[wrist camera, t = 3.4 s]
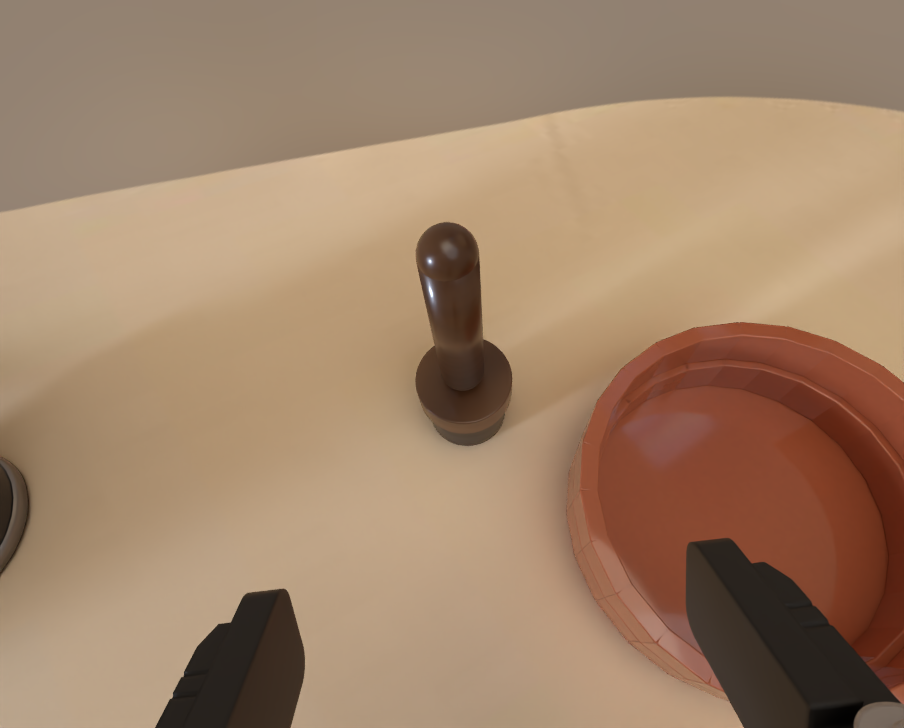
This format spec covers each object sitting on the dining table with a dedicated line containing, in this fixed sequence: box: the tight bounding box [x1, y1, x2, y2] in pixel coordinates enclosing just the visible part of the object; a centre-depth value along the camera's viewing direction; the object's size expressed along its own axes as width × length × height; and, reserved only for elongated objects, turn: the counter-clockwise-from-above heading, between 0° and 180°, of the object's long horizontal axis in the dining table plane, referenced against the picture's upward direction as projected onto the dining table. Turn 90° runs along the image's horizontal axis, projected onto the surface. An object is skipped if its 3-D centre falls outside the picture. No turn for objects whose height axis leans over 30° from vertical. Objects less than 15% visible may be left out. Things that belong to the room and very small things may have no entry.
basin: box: [566, 322, 904, 704], centre depth 26 cm, size 17×17×6 cm
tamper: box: [416, 222, 512, 446], centre depth 25 cm, size 5×5×16 cm
